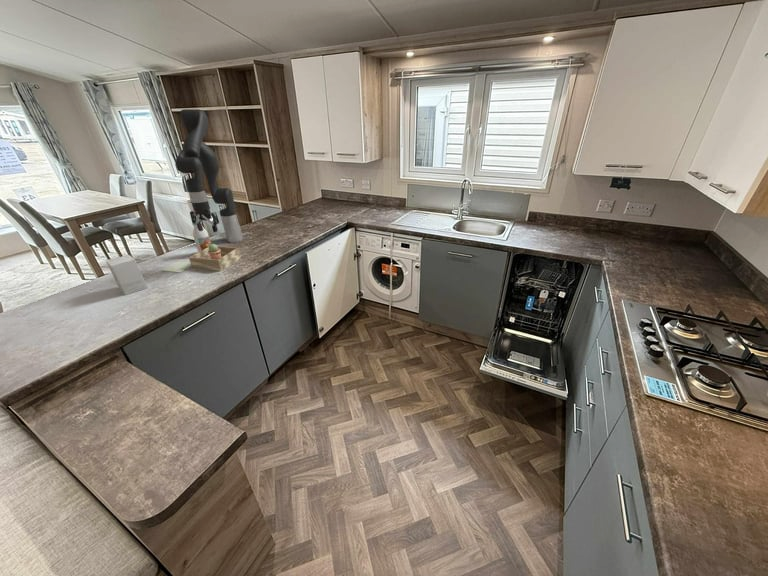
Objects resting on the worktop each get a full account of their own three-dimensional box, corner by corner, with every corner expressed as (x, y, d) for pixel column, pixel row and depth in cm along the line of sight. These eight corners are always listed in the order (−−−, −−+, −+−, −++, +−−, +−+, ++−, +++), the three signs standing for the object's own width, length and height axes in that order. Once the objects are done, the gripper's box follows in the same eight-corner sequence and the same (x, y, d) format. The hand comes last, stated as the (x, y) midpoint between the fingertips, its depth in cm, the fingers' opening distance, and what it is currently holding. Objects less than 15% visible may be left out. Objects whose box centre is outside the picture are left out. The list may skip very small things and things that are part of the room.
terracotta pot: (216, 259, 169) (211, 241, 164) (226, 260, 168) (221, 242, 163) (208, 264, 164) (203, 245, 159) (218, 265, 163) (213, 246, 158)
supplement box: (142, 282, 146) (129, 254, 138) (148, 288, 141) (135, 259, 133) (119, 289, 140) (104, 260, 132) (124, 295, 135) (110, 265, 127)
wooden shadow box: (214, 255, 175) (211, 245, 172) (241, 257, 172) (238, 247, 169) (192, 267, 160) (188, 257, 157) (221, 270, 157) (218, 260, 154)
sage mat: (178, 262, 166) (177, 261, 166) (195, 264, 164) (195, 263, 164) (161, 270, 156) (161, 270, 156) (179, 272, 155) (179, 272, 154)
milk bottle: (197, 256, 173) (186, 223, 163) (200, 251, 179) (190, 219, 169) (212, 255, 175) (202, 222, 165) (214, 250, 181) (205, 218, 171)
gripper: (217, 199, 151) (225, 230, 159) (192, 197, 154) (201, 228, 162) (206, 202, 145) (215, 234, 153) (181, 201, 147) (191, 232, 155)
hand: (208, 231), depth 157 cm, fingers open, 8 cm apart
